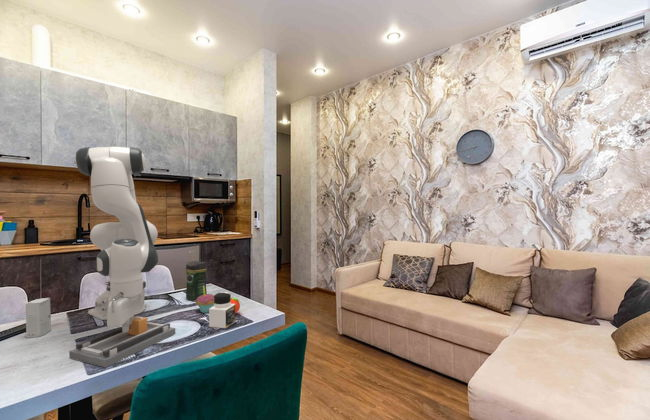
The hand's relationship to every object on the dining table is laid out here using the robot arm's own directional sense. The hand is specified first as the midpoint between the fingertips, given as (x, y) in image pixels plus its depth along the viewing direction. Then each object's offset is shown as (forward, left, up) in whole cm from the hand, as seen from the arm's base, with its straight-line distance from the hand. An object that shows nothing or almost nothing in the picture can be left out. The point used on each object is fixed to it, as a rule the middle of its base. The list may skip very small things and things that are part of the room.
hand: (127, 330), depth 98 cm
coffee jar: (-16, +47, -5) cm, 50 cm away
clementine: (+15, +35, -5) cm, 38 cm away
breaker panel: (0, 0, -5) cm, 5 cm away
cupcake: (+1, +35, -5) cm, 35 cm away
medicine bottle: (+18, +25, -5) cm, 31 cm away
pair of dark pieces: (0, 0, -2) cm, 2 cm away
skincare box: (-38, -5, -5) cm, 39 cm away
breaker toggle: (0, +4, -2) cm, 4 cm away
